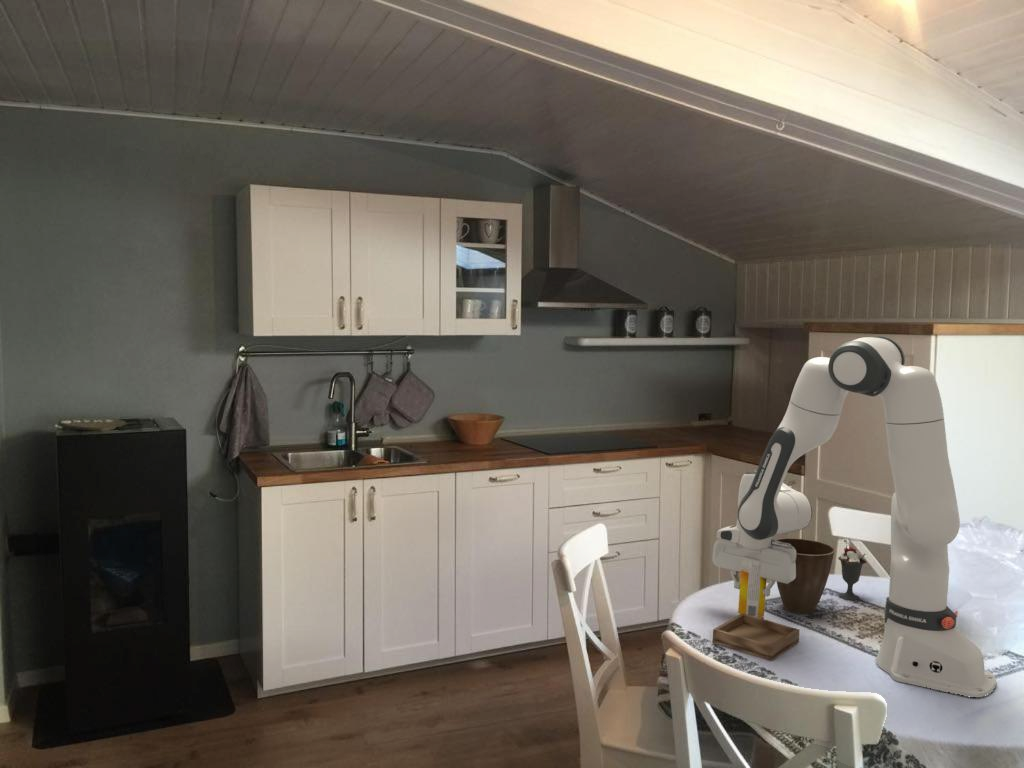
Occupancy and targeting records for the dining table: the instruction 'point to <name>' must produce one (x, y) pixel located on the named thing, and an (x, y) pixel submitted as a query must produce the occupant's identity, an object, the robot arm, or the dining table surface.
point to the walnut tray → (756, 636)
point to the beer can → (751, 589)
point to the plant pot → (806, 575)
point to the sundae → (851, 570)
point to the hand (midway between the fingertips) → (751, 591)
